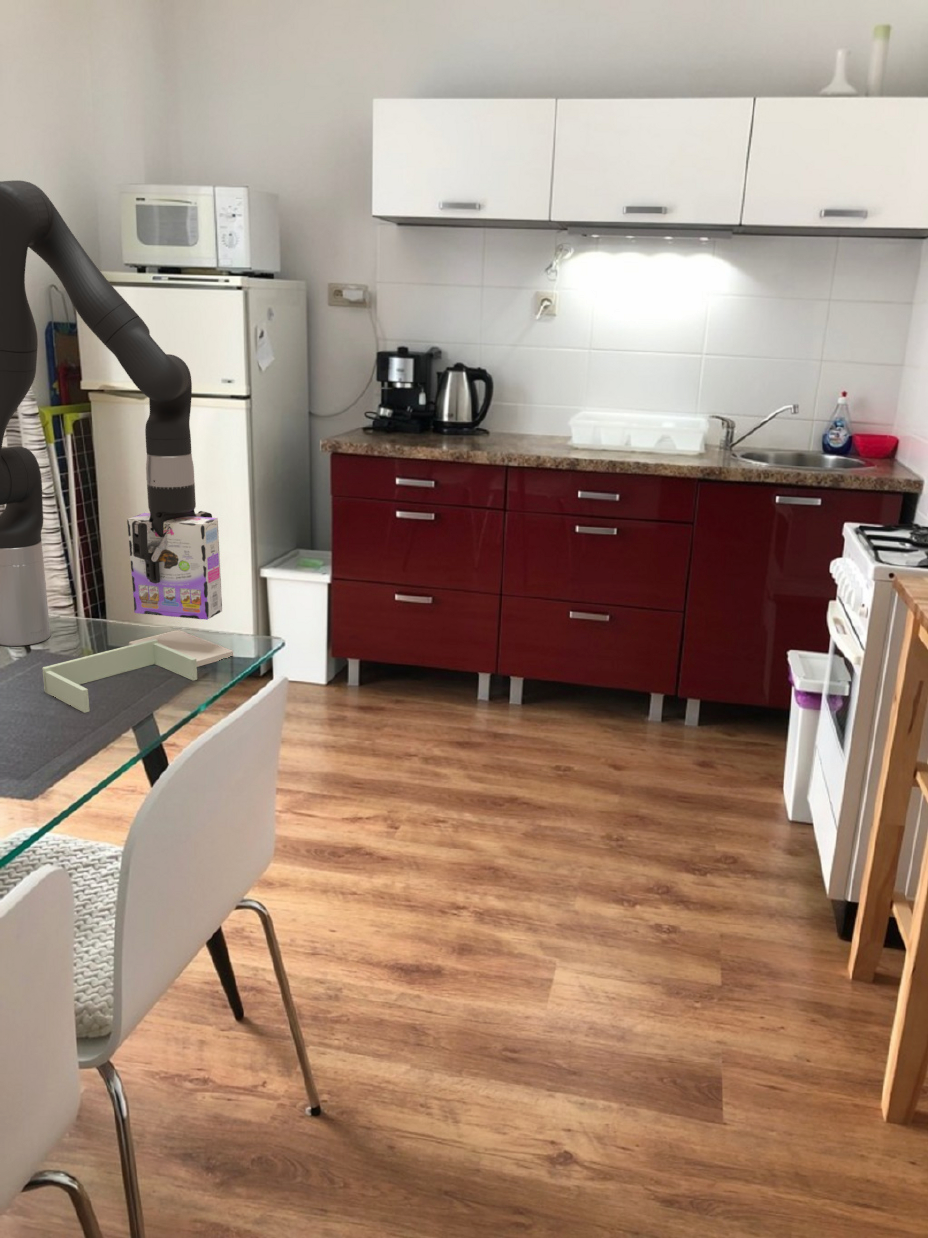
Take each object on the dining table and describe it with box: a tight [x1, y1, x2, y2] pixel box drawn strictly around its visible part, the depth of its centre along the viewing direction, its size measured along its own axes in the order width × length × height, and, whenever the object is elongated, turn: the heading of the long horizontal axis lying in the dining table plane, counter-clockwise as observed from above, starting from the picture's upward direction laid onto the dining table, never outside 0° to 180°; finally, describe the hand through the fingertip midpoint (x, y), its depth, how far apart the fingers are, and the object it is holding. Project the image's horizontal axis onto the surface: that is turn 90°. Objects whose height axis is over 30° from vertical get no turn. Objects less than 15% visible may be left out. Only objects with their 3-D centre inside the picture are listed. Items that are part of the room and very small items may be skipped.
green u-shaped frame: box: [42, 639, 198, 714], centre depth 163 cm, size 12×20×4 cm, turn 139°
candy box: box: [126, 512, 223, 621], centre depth 174 cm, size 14×6×16 cm, turn 76°
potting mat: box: [128, 629, 234, 668], centre depth 179 cm, size 16×10×1 cm, turn 49°
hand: (176, 577), depth 175 cm, fingers closed on candy box, 8 cm apart
